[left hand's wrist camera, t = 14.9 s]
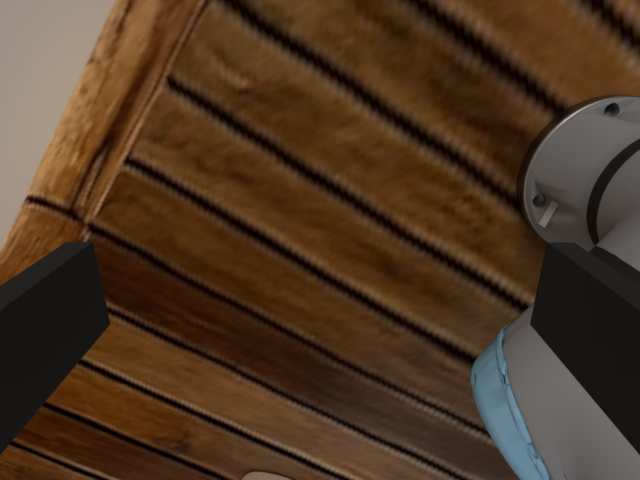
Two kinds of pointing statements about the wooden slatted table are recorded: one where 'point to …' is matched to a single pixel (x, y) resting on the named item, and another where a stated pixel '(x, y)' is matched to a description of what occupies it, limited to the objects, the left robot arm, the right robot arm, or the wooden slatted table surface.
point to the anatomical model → (263, 476)
